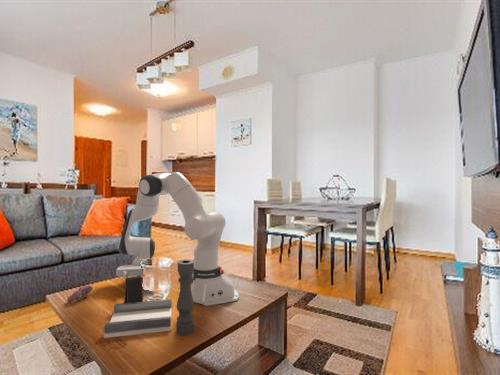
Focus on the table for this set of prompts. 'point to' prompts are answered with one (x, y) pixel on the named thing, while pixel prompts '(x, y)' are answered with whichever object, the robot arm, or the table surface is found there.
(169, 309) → the track base
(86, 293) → the video game controller
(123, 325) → the track rails
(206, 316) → the table surface
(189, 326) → the candle holder
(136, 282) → the phone stand
